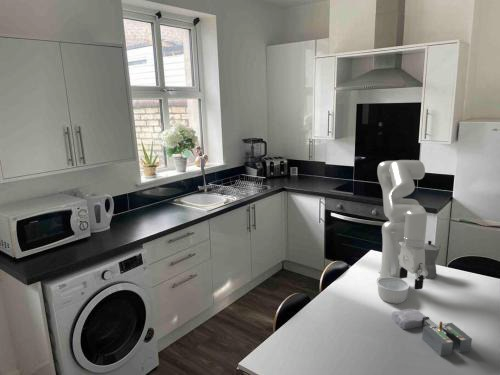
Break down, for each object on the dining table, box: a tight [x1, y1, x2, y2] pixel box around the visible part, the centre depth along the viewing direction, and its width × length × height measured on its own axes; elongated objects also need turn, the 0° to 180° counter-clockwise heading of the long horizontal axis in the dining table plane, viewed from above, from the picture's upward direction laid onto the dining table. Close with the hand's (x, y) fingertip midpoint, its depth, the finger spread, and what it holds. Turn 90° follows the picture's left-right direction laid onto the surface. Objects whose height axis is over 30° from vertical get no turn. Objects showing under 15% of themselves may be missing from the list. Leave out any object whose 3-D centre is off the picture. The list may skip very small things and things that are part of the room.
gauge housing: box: [421, 322, 473, 357], centre depth 138 cm, size 10×12×5 cm
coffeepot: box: [418, 240, 442, 279], centre depth 190 cm, size 15×9×18 cm, turn 103°
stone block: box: [390, 308, 427, 330], centre depth 153 cm, size 12×5×10 cm
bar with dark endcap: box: [422, 316, 447, 336], centre depth 144 cm, size 11×2×6 cm, turn 12°
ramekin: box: [376, 277, 410, 304], centre depth 171 cm, size 13×13×7 cm
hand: (410, 283), depth 150 cm, fingers open, 9 cm apart
